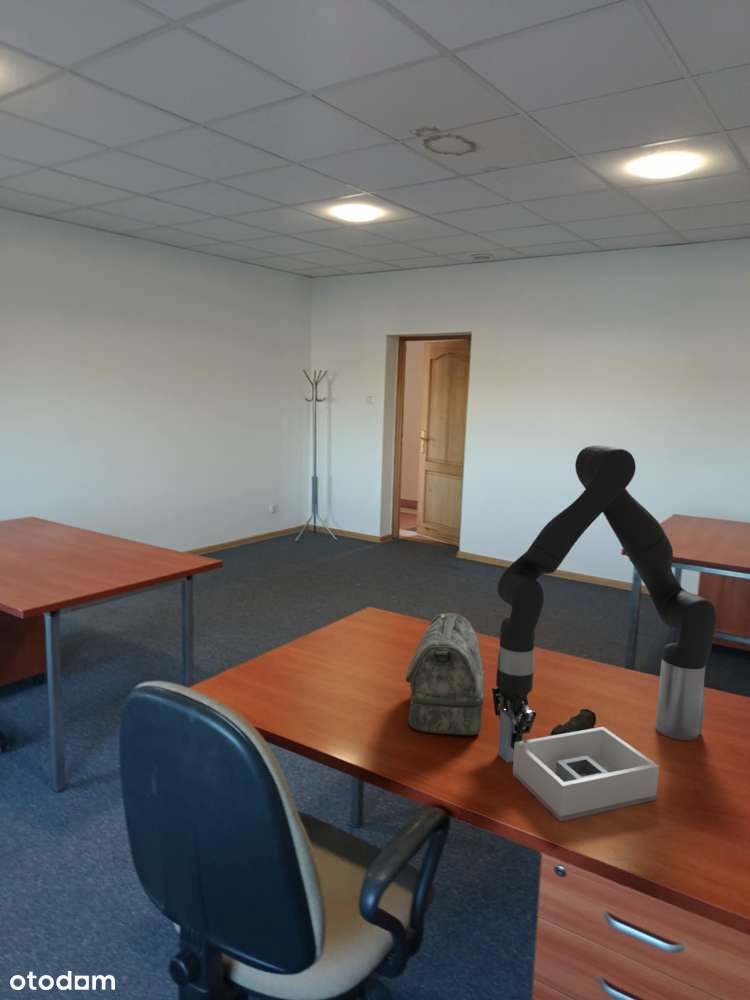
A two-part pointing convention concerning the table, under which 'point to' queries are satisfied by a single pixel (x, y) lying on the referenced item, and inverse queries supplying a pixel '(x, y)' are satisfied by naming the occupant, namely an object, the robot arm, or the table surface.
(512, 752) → the plug
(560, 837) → the table surface
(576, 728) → the hand tool
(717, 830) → the table surface
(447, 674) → the lunch bag
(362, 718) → the table surface
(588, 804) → the walled box
